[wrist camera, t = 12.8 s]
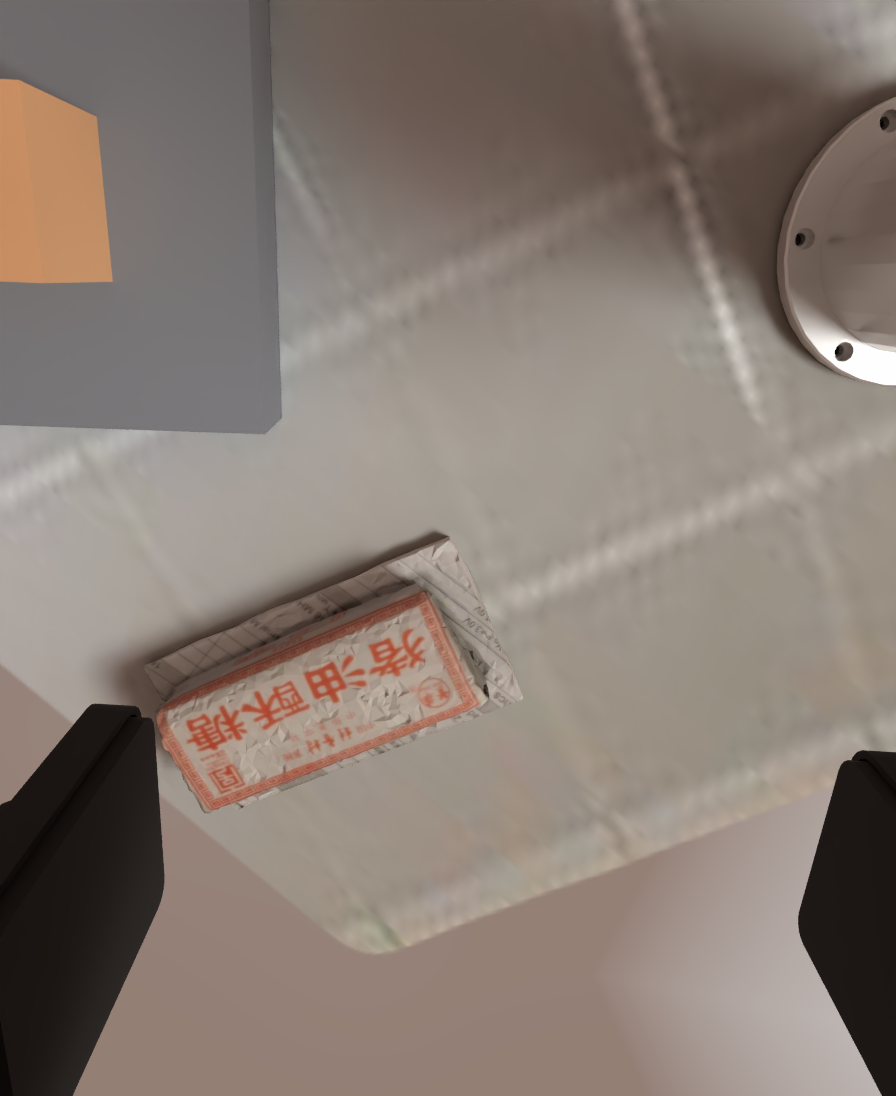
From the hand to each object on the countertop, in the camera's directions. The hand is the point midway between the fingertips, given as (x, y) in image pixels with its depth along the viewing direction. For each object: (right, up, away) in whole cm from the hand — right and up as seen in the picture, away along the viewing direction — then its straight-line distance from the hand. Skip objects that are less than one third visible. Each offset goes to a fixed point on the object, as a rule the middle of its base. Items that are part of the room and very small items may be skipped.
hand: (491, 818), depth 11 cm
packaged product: (-7, -3, +33) cm, 33 cm away
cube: (-17, +18, +20) cm, 32 cm away
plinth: (-17, +19, +24) cm, 35 cm away
